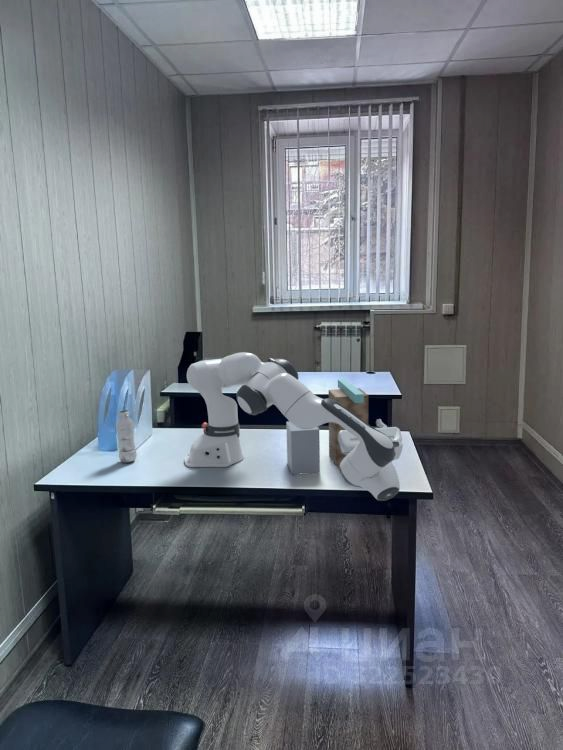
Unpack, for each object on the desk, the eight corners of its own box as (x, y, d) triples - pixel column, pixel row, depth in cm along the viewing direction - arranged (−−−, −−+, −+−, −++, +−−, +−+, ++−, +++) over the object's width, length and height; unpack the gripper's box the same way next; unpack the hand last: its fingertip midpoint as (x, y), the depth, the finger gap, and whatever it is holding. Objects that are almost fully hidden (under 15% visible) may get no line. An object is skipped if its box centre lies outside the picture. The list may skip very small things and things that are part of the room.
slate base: (291, 474, 191) (291, 431, 188) (287, 462, 203) (286, 421, 200) (319, 472, 193) (319, 429, 190) (313, 461, 204) (313, 420, 201)
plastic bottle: (140, 461, 209) (136, 410, 205) (124, 466, 204) (120, 414, 200) (131, 457, 213) (127, 408, 209) (115, 462, 208) (111, 411, 205)
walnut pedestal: (336, 466, 198) (335, 397, 193) (329, 455, 210) (328, 389, 205) (367, 464, 200) (368, 395, 195) (359, 453, 211) (359, 388, 206)
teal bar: (355, 403, 184) (355, 394, 183) (337, 386, 209) (337, 379, 209) (363, 402, 184) (363, 394, 184) (345, 386, 210) (345, 378, 209)
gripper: (341, 462, 170) (332, 429, 180) (404, 457, 173) (392, 426, 183) (343, 448, 166) (334, 416, 176) (407, 444, 169) (395, 412, 179)
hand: (364, 421), depth 180 cm, fingers open, 8 cm apart
